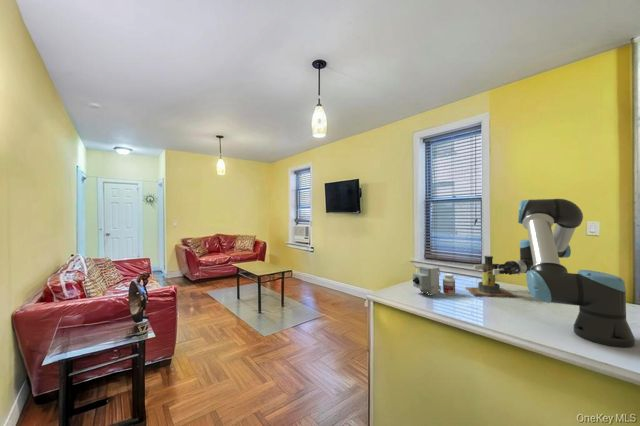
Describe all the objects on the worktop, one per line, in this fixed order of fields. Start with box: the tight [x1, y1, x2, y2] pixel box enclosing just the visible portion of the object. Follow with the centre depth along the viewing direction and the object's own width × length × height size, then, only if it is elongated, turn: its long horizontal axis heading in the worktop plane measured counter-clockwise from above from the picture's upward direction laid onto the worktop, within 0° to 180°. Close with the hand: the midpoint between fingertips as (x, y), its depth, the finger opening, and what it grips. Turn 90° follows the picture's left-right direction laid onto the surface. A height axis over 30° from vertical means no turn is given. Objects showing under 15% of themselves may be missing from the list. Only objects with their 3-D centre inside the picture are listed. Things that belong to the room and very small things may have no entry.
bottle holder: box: [465, 281, 516, 298], centre depth 151 cm, size 20×14×5 cm
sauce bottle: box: [481, 254, 496, 286], centre depth 151 cm, size 6×6×20 cm
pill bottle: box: [442, 273, 456, 296], centre depth 152 cm, size 6×6×11 cm
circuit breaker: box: [412, 265, 442, 296], centre depth 153 cm, size 8×14×15 cm, turn 107°
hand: (483, 269), depth 151 cm, fingers open, 13 cm apart
